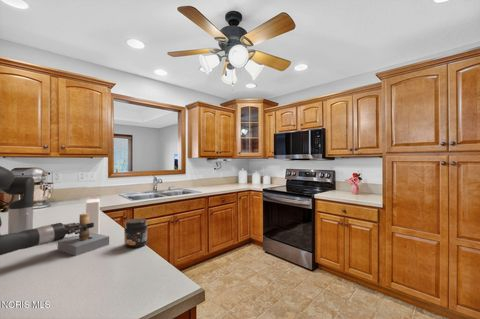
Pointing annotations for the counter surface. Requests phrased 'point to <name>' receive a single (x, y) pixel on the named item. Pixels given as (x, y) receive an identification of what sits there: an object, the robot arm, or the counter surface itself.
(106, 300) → the counter surface
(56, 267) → the counter surface
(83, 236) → the peg
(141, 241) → the supplement container
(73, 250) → the board
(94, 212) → the white tall block
